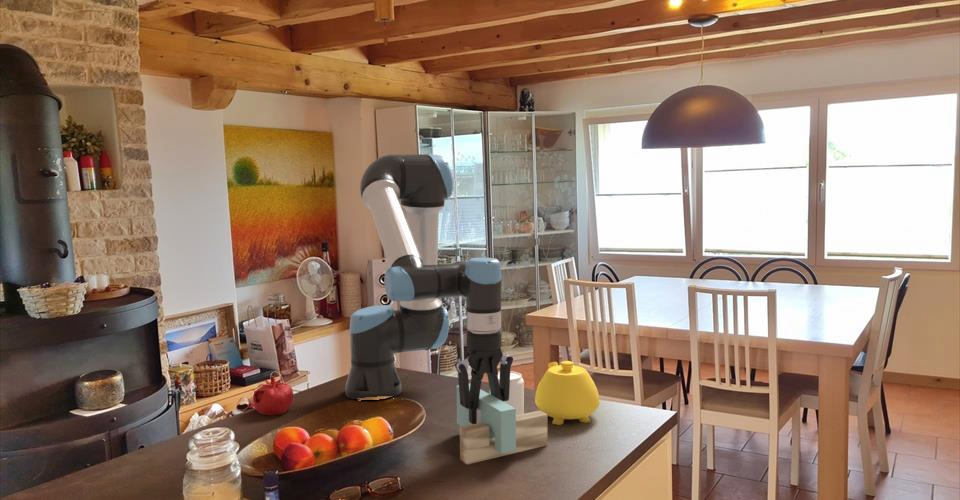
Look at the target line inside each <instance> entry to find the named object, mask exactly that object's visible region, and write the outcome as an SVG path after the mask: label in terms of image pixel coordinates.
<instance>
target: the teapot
mask: <svg viewBox="0 0 960 500" xmlns="http://www.w3.org/2000/svg"><path fill="white" fill-rule="evenodd" d="M547 366H548V367H547V368H548V369H547V370H546V372H545V373H544V375H543V376H542V377H541V379H540V381H539V383H538V385H537V388H536V392H535V397H534V403H535V405H536V407H537V409H539V410H540V411H542V412H544V413H546V414H547V417H551V418H553V419H552V422H551V423H552V424H553V425H555V424H556V425H557V426H562V425H563V424H564V423H565V420H578V422H581V423H585V424H586V423H590V422H591V418H589V417H590V416H591V415H593V414H594V413H595V411H597V409H599V406H600V395H599V391H598V388H597V386H596V383H595V381H594V380H593V378H592V377H591V375H590V373H589V372H588V371H587V369H585V368H584V367H583V366H578V365H575V364H574V361H571V360H563V361H560V364H559V363H558V362H557V361H552V362H549V363H548V364H547Z"/></svg>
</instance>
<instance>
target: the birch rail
mask: <svg viewBox="0 0 960 500" xmlns="http://www.w3.org/2000/svg"><path fill="white" fill-rule="evenodd" d="M547 446H548V416H547V414H546V413H544V412H542V411H541V410H540V409H539V410H535V411H530V412H526V413H525V412H524V414H520V415H516V451H512V452H508V453H504V454H501V453H499V452H498V451H496V450H495V438H492V439H489V426H487V425H486V424H484V423H483V422H482V423H477V424H472V425H467V426H462V427H461V426H459V460H460V461H462V462H463V463H464V464H465V465H472V464H475V463H479V462H483V461H484V462H485V461H488V460H491V459H496V458H499V457H504V456H508V455H512V454H518V453H521V452H526V451H530V450H533V449H538V448H541V447H547Z"/></svg>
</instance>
